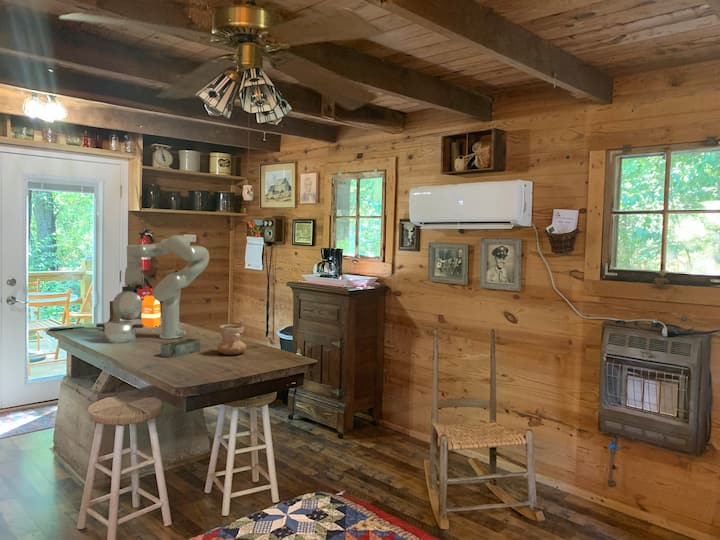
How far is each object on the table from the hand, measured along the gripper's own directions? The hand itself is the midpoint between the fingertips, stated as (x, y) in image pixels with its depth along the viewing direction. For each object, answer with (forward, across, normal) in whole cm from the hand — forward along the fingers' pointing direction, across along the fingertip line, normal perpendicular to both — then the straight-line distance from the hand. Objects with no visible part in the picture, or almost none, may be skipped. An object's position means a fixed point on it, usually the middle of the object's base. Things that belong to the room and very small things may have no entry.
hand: (134, 296), depth 329 cm
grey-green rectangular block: (+24, -45, +47) cm, 69 cm away
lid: (+3, 0, +10) cm, 10 cm away
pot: (+23, 0, +19) cm, 30 cm away
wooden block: (+23, +20, -12) cm, 33 cm away
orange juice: (+23, +2, -29) cm, 37 cm away
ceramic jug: (+23, -70, +45) cm, 87 cm away
